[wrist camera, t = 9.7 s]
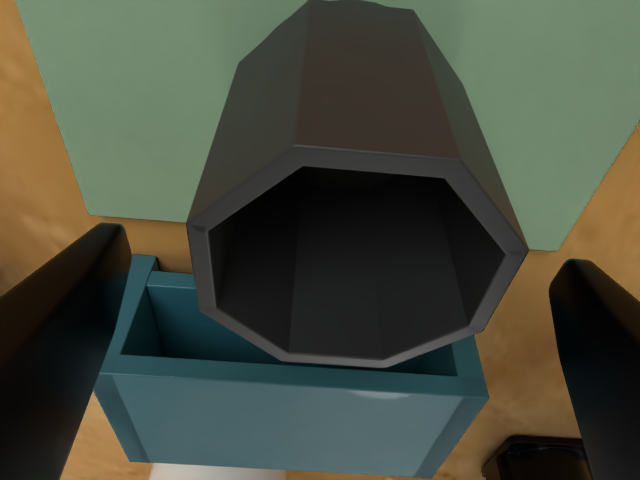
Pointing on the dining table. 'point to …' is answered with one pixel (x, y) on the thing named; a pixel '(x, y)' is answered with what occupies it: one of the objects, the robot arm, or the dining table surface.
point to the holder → (351, 195)
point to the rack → (272, 394)
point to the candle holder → (211, 473)
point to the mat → (270, 11)
